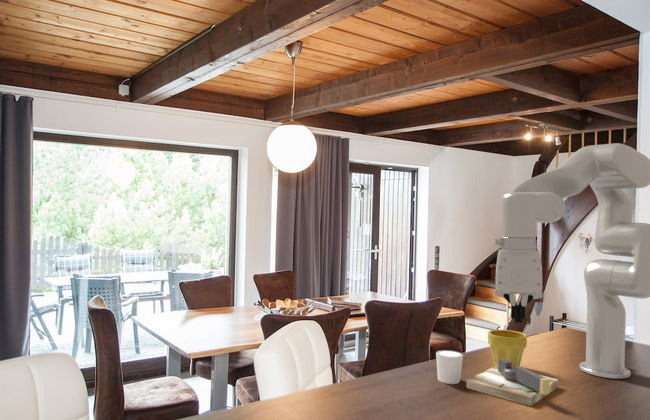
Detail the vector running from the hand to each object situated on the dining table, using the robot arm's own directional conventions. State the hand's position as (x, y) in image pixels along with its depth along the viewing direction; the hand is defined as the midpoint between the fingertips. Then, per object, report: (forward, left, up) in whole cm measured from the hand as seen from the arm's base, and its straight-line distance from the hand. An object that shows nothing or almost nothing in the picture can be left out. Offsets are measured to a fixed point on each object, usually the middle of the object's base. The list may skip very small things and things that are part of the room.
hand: (517, 321), depth 119 cm
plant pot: (-22, -12, -19) cm, 31 cm away
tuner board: (-7, -4, -18) cm, 20 cm away
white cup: (0, -18, -19) cm, 26 cm away
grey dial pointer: (-5, -1, -16) cm, 17 cm away
